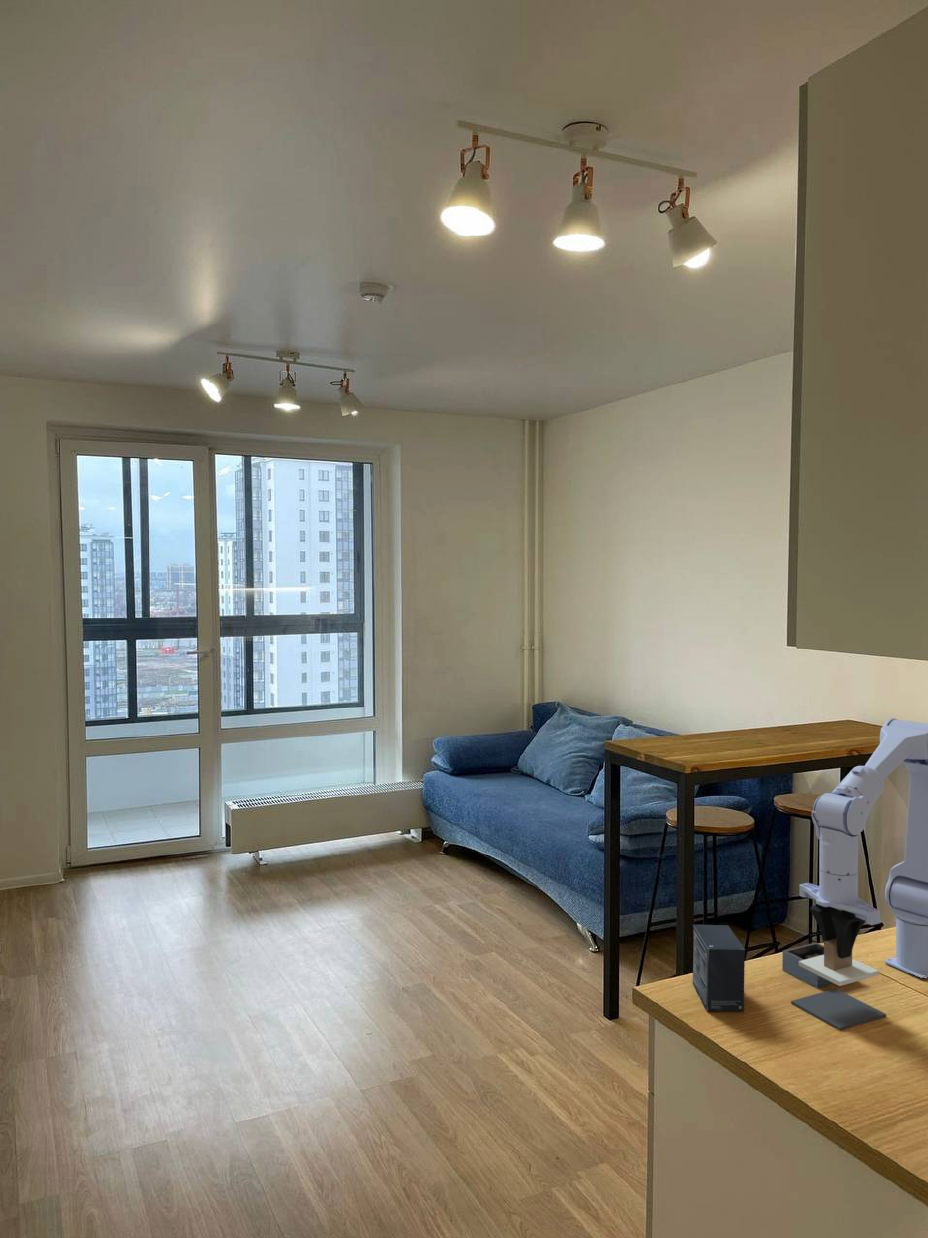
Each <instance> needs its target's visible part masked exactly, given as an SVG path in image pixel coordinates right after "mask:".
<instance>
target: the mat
mask: <svg viewBox="0 0 928 1238" xmlns="http://www.w3.org/2000/svg"><path fill="white" fill-rule="evenodd" d="M791 1004H792V1005H793V1006H795V1007H797V1008H799V1009H800V1010H802V1011H804V1012H805V1013H807V1014H809V1015H811V1016H812V1017H815V1018H816V1019H818V1020H819V1021H821V1022H823V1023H825V1024H827V1025H829V1026H831V1027H833V1028H834V1029H836V1030H838V1031H842V1030H847V1029H849V1028H853V1027H855V1026H858V1025H862V1024H866V1023H869V1022H872V1021H876V1020H879V1019H882V1018H885V1017H887V1014H886V1013H885V1012H883V1011H881V1010H879V1009H878V1008H876V1007H873V1006H871V1005H870V1004H867V1003H866V1002H863V1001H861V1000H860V999H857V998H856V997H854V996H852V995H850V994H848V993H845V992H843V991H841V990H839V989H838V988H831V989H829V990H825V991H821V992H817V993H815V994H811V995H808V996H804V997H800V998H797V999H793V1000H790V1005H791Z"/></svg>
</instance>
